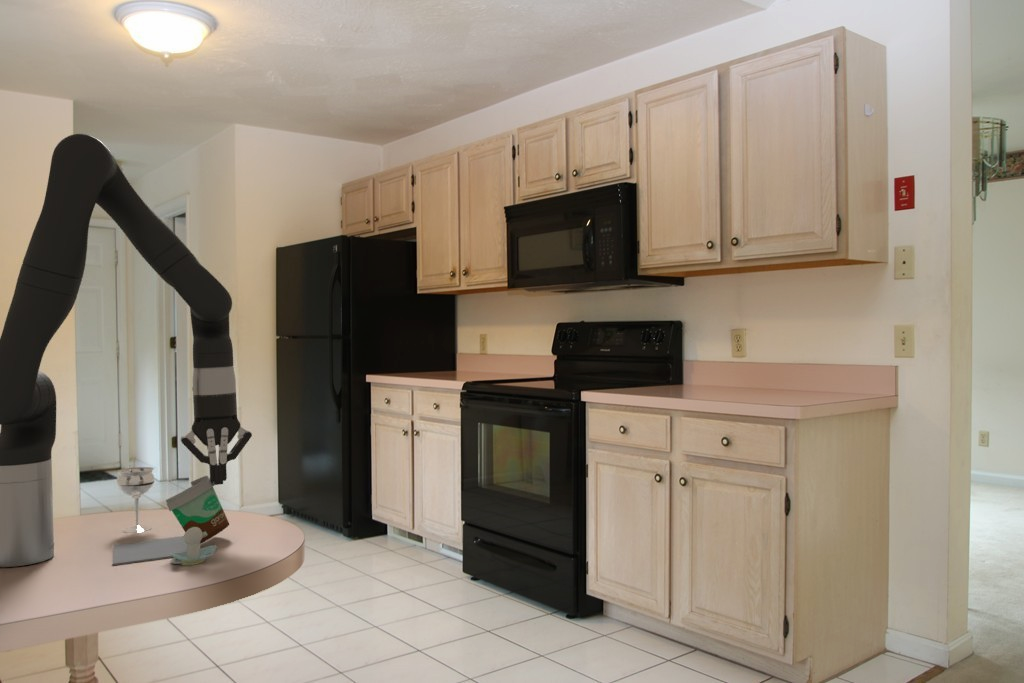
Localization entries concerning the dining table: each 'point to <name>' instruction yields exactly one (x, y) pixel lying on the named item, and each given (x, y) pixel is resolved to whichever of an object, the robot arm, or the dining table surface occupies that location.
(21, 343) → the robot arm
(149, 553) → the mat
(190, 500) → the food container
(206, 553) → the pacifier
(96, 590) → the dining table surface
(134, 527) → the wineglass
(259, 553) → the dining table surface
